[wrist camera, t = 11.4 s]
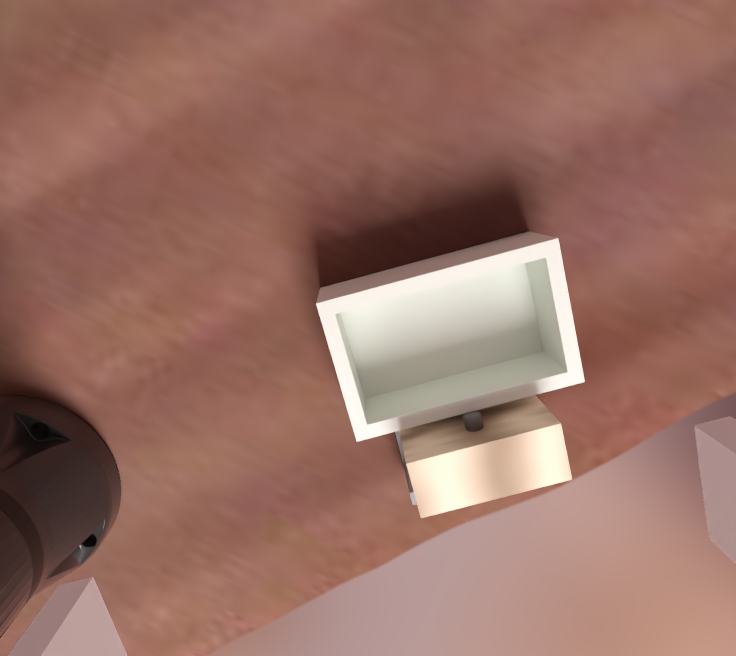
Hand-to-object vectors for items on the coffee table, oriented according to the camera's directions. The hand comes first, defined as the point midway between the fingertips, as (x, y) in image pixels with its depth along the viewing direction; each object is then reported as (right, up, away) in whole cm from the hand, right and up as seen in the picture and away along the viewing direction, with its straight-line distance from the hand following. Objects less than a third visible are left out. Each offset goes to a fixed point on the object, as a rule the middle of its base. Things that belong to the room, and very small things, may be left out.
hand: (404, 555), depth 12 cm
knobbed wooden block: (+7, -2, +33) cm, 34 cm away
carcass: (+6, +2, +32) cm, 33 cm away
